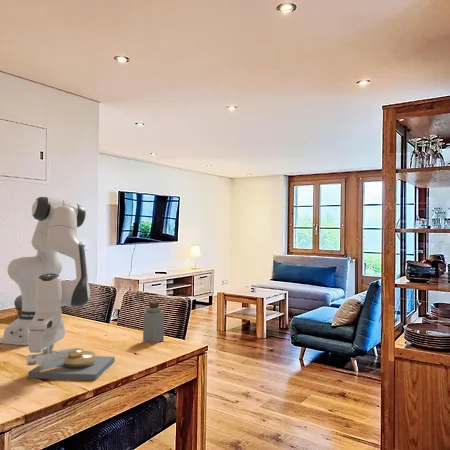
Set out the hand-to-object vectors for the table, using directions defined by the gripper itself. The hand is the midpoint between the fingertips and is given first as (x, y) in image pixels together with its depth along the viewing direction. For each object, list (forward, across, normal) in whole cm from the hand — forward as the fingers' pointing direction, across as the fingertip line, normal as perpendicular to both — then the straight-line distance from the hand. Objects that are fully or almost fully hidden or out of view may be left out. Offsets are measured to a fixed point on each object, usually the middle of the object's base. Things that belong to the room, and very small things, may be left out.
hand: (47, 357), depth 147 cm
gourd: (+7, -92, -51) cm, 106 cm away
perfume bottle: (+6, -46, +28) cm, 55 cm away
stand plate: (+6, -5, +8) cm, 11 cm away
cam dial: (+3, -1, +5) cm, 6 cm away
